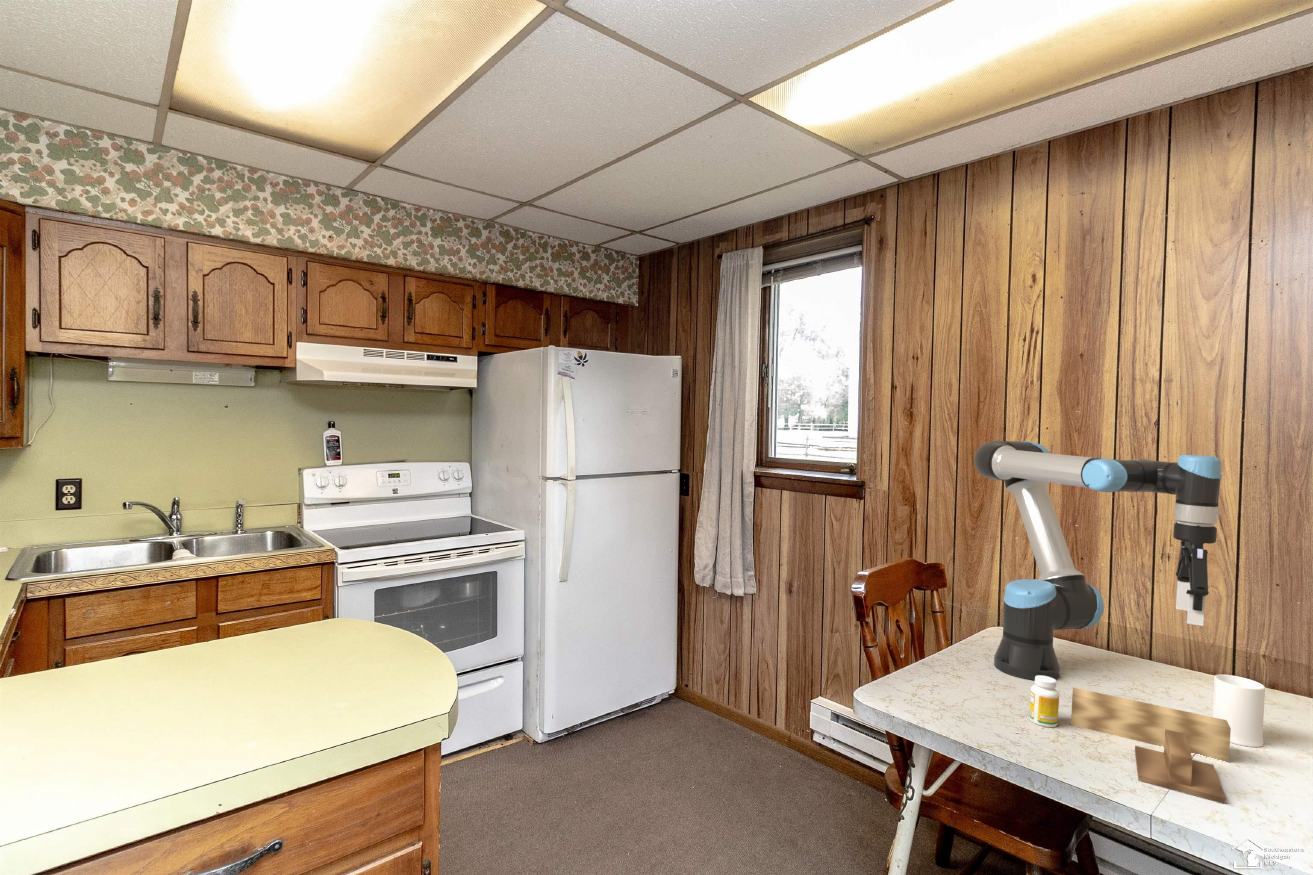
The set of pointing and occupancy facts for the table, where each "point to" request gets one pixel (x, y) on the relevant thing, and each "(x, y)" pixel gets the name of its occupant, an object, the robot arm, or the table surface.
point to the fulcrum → (1178, 769)
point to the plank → (1150, 722)
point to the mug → (1240, 708)
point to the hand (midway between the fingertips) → (1188, 617)
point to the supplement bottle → (1044, 702)
